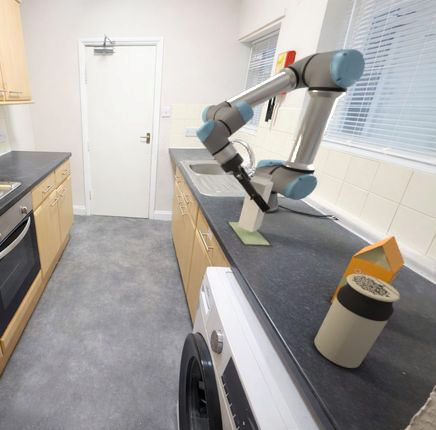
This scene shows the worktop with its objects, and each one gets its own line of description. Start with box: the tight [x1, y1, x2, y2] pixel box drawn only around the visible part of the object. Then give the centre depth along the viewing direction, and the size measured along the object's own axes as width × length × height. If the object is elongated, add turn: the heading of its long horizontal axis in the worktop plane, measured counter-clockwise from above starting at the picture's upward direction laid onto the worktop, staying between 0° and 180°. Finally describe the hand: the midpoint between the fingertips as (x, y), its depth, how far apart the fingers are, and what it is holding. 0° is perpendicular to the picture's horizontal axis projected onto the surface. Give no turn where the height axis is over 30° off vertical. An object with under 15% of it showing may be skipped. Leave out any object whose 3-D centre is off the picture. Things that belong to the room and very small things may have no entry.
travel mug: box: [313, 274, 401, 369], centre depth 53 cm, size 8×8×18 cm
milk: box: [238, 171, 274, 232], centre depth 99 cm, size 6×6×22 cm
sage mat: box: [228, 221, 271, 247], centre depth 105 cm, size 9×18×1 cm, turn 177°
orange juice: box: [330, 235, 405, 304], centre depth 66 cm, size 8×9×20 cm
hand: (265, 205), depth 99 cm, fingers closed on milk, 8 cm apart
